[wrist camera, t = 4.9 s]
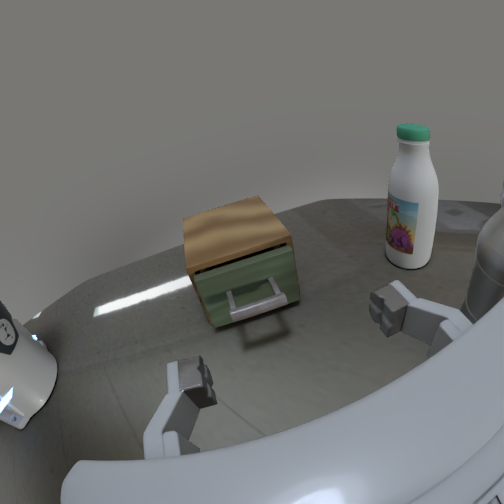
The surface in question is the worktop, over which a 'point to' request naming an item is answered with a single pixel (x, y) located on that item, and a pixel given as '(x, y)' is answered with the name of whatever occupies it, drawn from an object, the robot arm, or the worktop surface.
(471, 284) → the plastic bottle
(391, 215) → the milk bottle
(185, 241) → the cabinet
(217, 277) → the drawer
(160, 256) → the worktop surface
